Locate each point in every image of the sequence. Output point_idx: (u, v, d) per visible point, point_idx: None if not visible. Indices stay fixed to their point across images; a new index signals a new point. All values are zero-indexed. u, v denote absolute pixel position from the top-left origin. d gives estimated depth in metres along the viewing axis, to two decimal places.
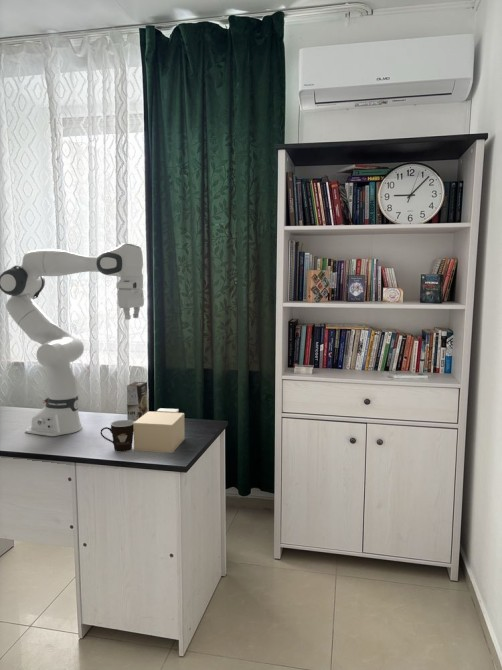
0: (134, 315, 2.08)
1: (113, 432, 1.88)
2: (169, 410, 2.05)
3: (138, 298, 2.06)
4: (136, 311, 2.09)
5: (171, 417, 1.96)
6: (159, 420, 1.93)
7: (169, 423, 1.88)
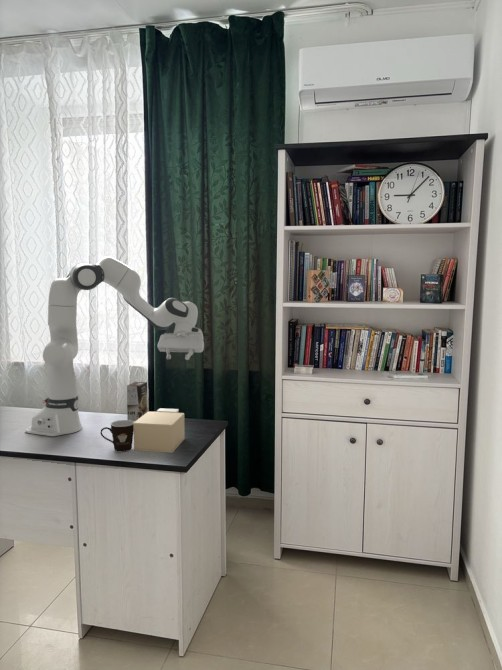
0: (170, 356, 2.18)
1: (113, 432, 1.88)
2: (169, 410, 2.05)
3: None
4: None
5: (171, 417, 1.96)
6: (159, 420, 1.93)
7: (169, 423, 1.88)
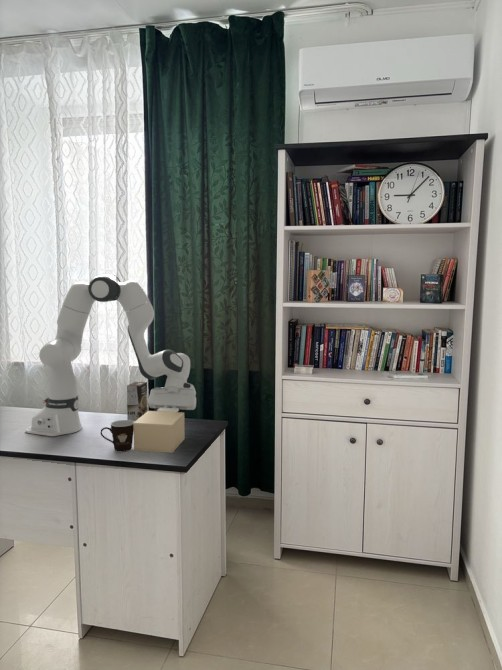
0: None
1: (113, 432, 1.88)
2: (169, 409, 2.05)
3: None
4: None
5: (171, 417, 1.96)
6: (159, 419, 1.93)
7: (169, 423, 1.88)
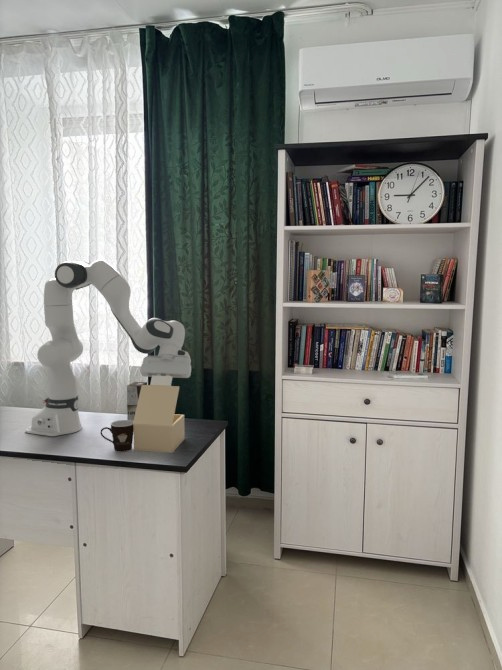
0: None
1: (113, 432, 1.88)
2: (162, 381, 1.96)
3: None
4: None
5: (167, 402, 1.91)
6: (156, 412, 1.90)
7: (168, 421, 1.87)
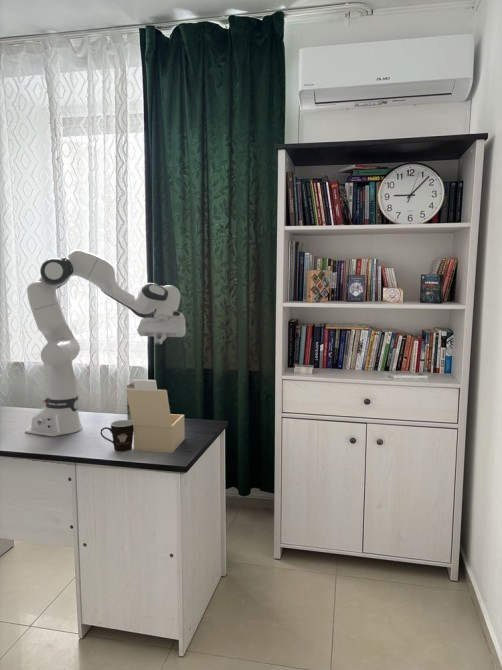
0: None
1: (113, 432, 1.88)
2: (146, 386, 1.79)
3: None
4: (156, 338, 2.11)
5: (160, 406, 1.83)
6: (152, 415, 1.85)
7: (167, 423, 1.86)
